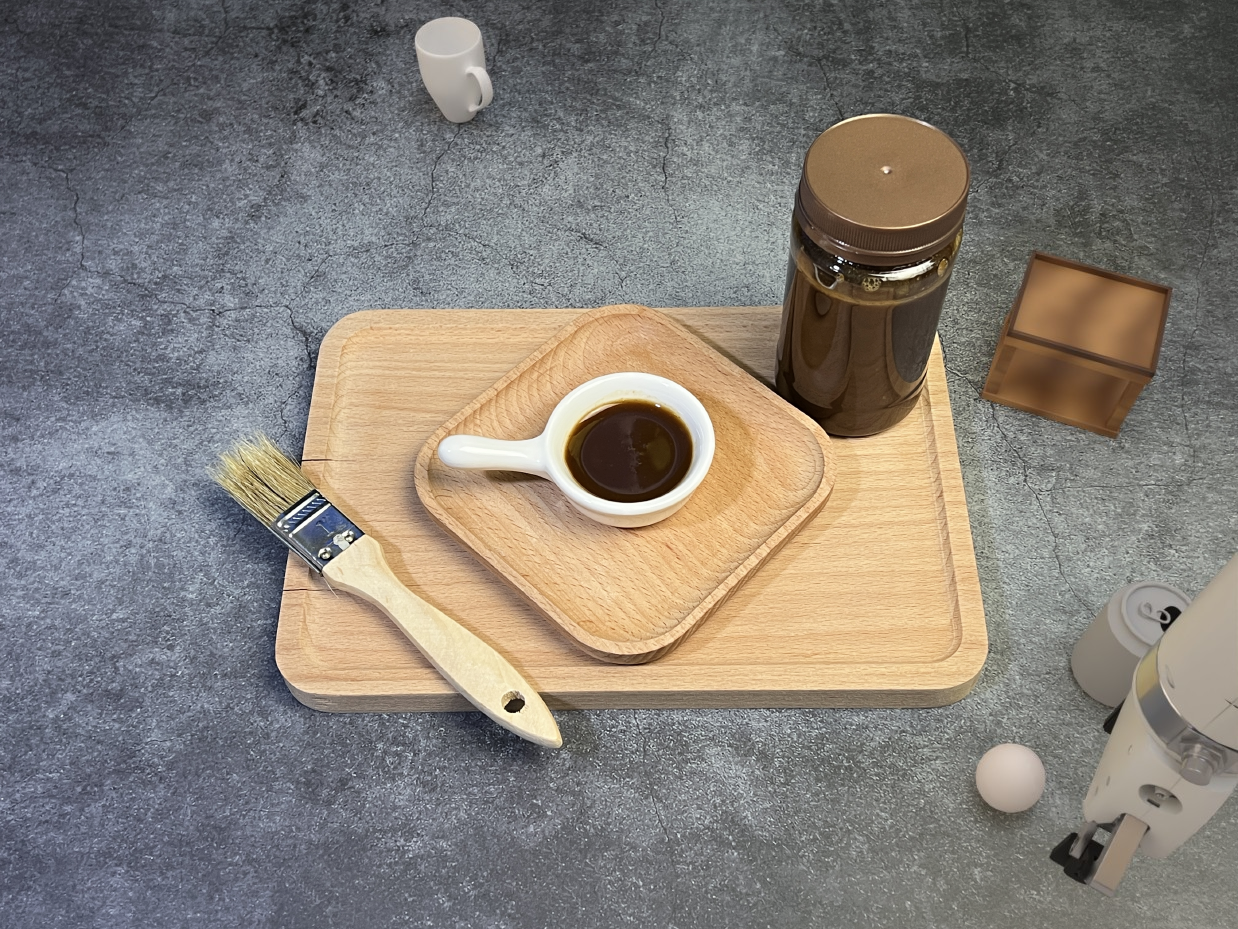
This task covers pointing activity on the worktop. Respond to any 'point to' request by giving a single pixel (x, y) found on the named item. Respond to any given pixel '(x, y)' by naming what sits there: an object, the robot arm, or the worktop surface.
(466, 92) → the mug
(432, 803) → the worktop surface
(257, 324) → the worktop surface
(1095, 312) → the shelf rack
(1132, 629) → the can
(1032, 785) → the egg
